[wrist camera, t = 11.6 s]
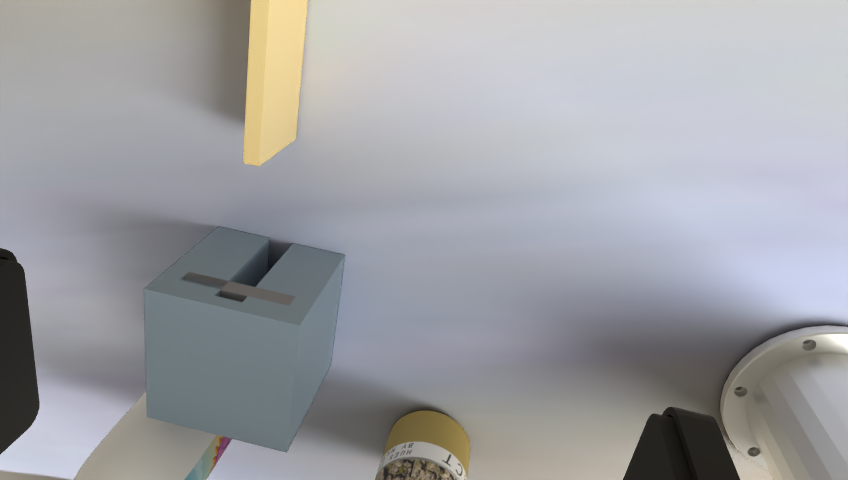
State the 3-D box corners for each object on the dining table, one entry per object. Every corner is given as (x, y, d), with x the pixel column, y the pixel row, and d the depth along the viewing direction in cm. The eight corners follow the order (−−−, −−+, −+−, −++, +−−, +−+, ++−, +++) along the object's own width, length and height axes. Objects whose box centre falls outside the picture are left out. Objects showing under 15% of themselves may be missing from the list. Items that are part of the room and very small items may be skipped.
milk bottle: (148, 371, 54) (-46, 577, 36) (215, 338, 51) (42, 542, 33) (203, 437, 56) (45, 664, 38) (269, 408, 53) (135, 637, 35)
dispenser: (345, 255, 46) (299, 325, 37) (330, 365, 50) (286, 452, 41) (218, 226, 47) (143, 288, 38) (214, 337, 51) (146, 417, 42)
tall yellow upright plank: (312, -51, 38) (272, -54, 32) (296, 139, 43) (259, 166, 37) (296, -55, 38) (253, -58, 32) (281, 136, 43) (242, 162, 37)
